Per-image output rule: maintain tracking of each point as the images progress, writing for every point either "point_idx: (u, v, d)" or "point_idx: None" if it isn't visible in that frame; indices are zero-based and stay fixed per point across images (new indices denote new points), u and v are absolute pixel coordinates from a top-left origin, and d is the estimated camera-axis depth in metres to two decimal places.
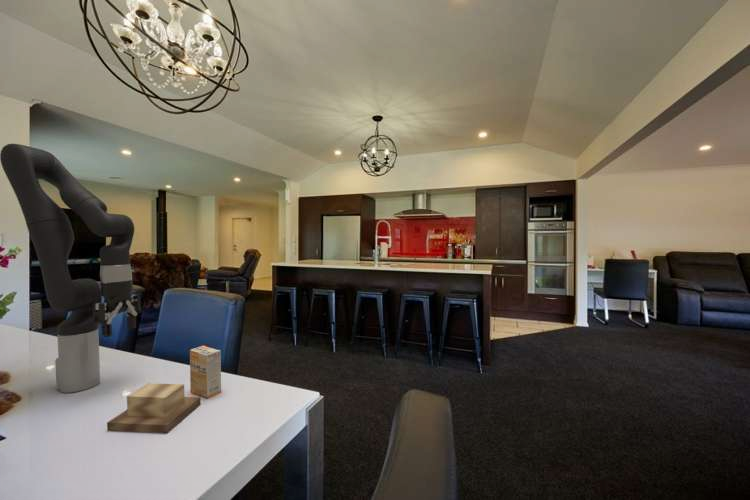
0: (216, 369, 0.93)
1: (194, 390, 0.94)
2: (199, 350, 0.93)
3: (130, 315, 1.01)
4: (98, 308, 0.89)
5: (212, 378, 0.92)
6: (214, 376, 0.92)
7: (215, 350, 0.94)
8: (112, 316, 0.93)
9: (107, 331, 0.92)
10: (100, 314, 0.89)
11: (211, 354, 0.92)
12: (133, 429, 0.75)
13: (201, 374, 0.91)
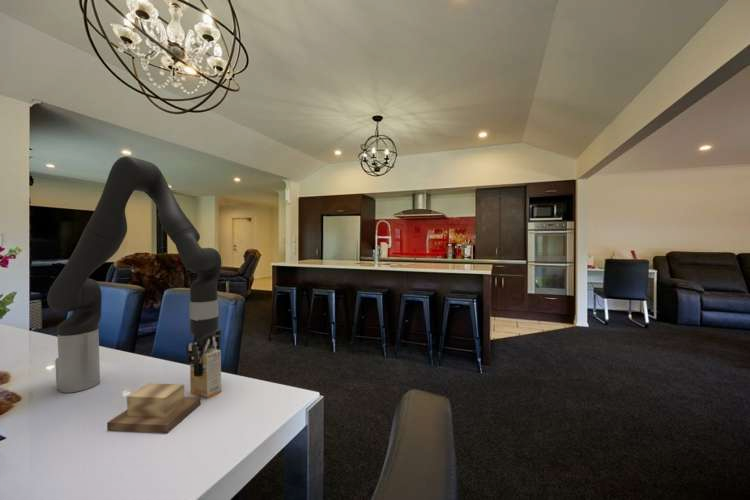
0: (216, 369, 0.93)
1: (194, 390, 0.94)
2: None
3: None
4: (191, 349, 0.87)
5: (212, 378, 0.92)
6: (214, 376, 0.92)
7: (215, 350, 0.94)
8: None
9: (199, 370, 0.90)
10: (194, 355, 0.87)
11: (211, 354, 0.92)
12: (133, 429, 0.75)
13: None
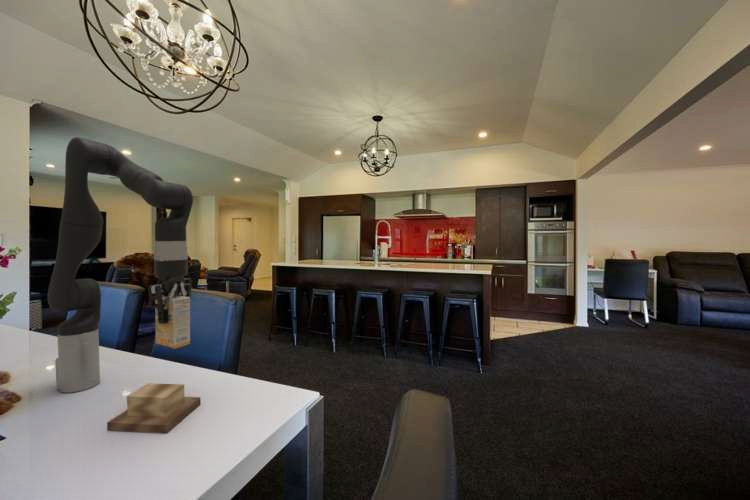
0: (185, 318, 0.84)
1: (159, 341, 0.84)
2: None
3: None
4: (155, 292, 0.78)
5: (179, 327, 0.83)
6: (182, 325, 0.83)
7: (184, 297, 0.85)
8: None
9: (164, 317, 0.81)
10: (158, 298, 0.78)
11: (179, 299, 0.82)
12: (133, 429, 0.75)
13: None
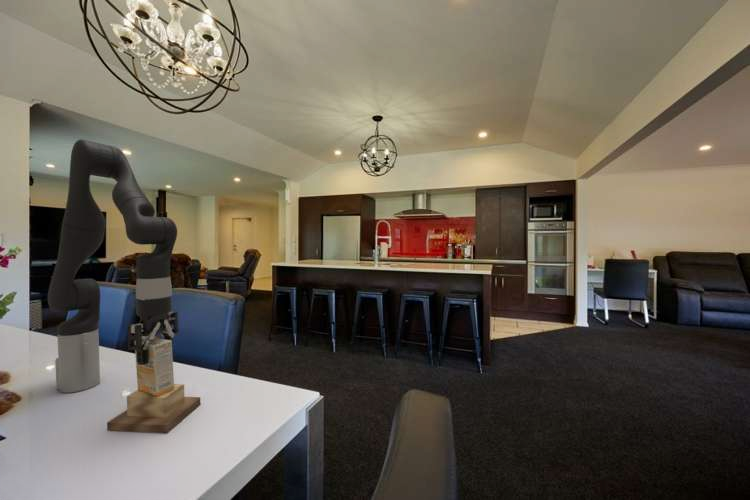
0: (167, 362, 0.80)
1: (142, 387, 0.80)
2: None
3: (166, 336, 0.85)
4: (134, 331, 0.74)
5: (162, 373, 0.79)
6: (164, 370, 0.79)
7: (165, 340, 0.81)
8: (149, 340, 0.77)
9: (143, 358, 0.76)
10: (136, 338, 0.74)
11: (159, 345, 0.78)
12: (133, 429, 0.75)
13: (148, 369, 0.78)
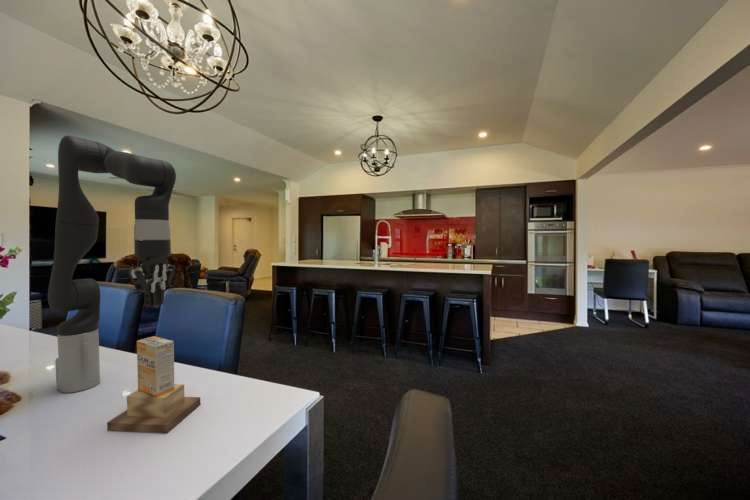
0: (168, 363, 0.80)
1: (142, 387, 0.80)
2: (147, 341, 0.80)
3: (157, 289, 0.82)
4: (136, 277, 0.74)
5: (163, 373, 0.79)
6: (165, 371, 0.80)
7: (167, 341, 0.81)
8: (154, 283, 0.79)
9: (151, 300, 0.79)
10: (141, 283, 0.75)
11: (161, 345, 0.79)
12: (133, 429, 0.75)
13: (149, 368, 0.78)
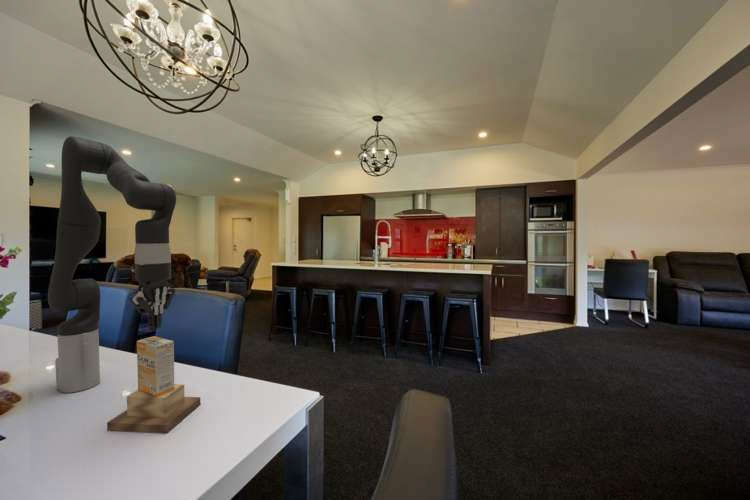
0: (168, 363, 0.80)
1: (142, 387, 0.80)
2: (147, 341, 0.80)
3: None
4: (138, 303, 0.75)
5: (163, 373, 0.79)
6: (165, 371, 0.80)
7: (167, 341, 0.81)
8: (156, 306, 0.80)
9: (154, 323, 0.80)
10: (144, 308, 0.76)
11: (161, 345, 0.79)
12: (133, 429, 0.75)
13: (149, 368, 0.78)
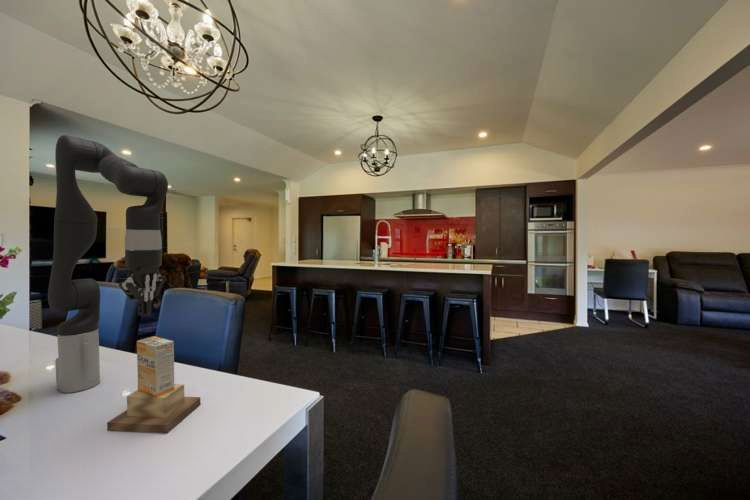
0: (168, 363, 0.80)
1: (142, 387, 0.80)
2: (147, 341, 0.80)
3: None
4: (127, 289, 0.75)
5: (163, 373, 0.79)
6: (165, 371, 0.80)
7: (167, 341, 0.81)
8: (146, 292, 0.80)
9: (144, 309, 0.80)
10: (133, 294, 0.76)
11: (161, 345, 0.79)
12: (133, 429, 0.75)
13: (149, 368, 0.78)
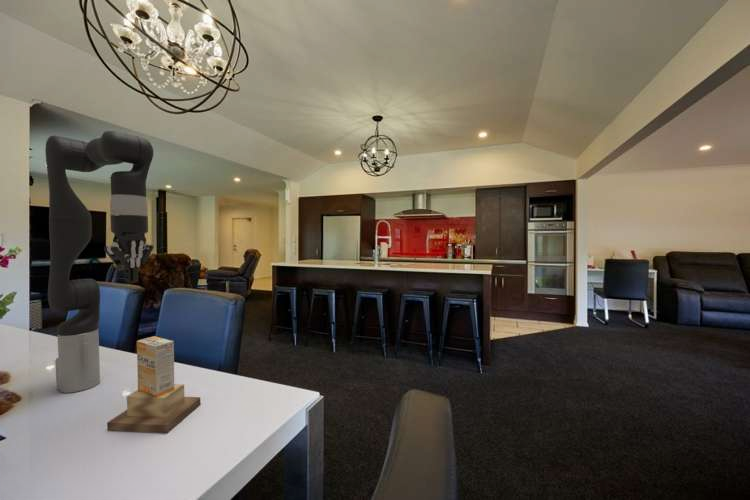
0: (168, 363, 0.80)
1: (142, 387, 0.80)
2: (147, 341, 0.80)
3: None
4: (113, 253, 0.75)
5: (163, 373, 0.79)
6: (165, 371, 0.80)
7: (167, 341, 0.81)
8: (132, 258, 0.79)
9: (130, 276, 0.80)
10: (119, 258, 0.76)
11: (161, 345, 0.79)
12: (133, 429, 0.75)
13: (149, 368, 0.78)
